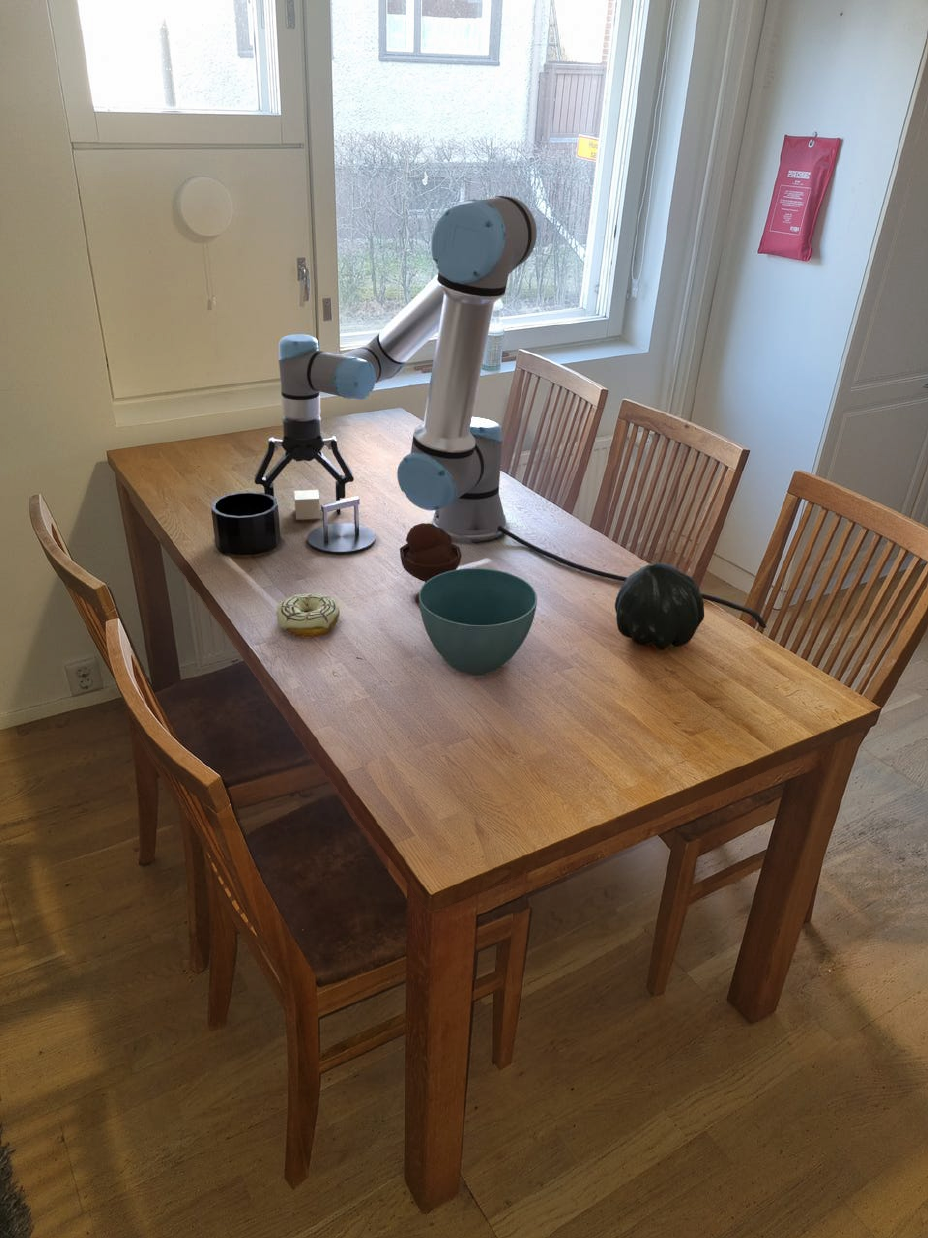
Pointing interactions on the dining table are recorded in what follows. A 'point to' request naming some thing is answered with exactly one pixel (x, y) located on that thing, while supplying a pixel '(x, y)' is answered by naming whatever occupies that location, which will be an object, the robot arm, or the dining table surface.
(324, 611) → the decorated donut
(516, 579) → the teal bowl
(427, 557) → the ice cream bowl
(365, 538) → the lid
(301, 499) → the block
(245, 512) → the pot
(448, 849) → the dining table surface
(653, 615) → the squash
